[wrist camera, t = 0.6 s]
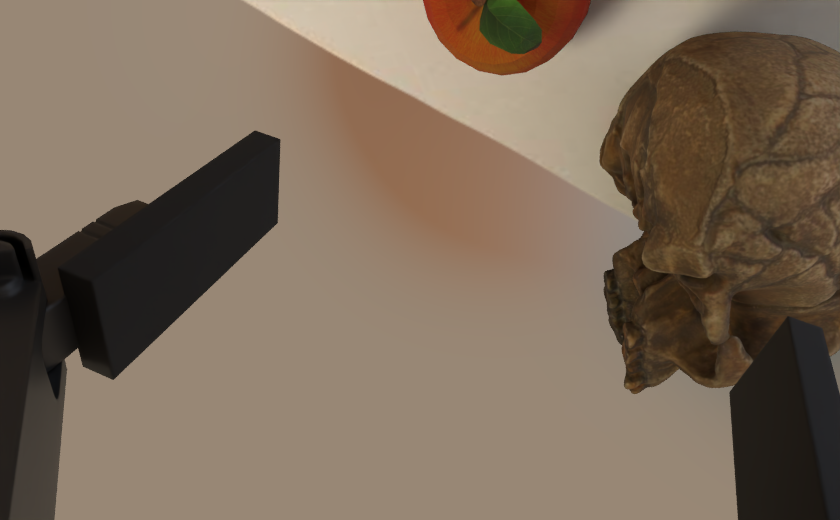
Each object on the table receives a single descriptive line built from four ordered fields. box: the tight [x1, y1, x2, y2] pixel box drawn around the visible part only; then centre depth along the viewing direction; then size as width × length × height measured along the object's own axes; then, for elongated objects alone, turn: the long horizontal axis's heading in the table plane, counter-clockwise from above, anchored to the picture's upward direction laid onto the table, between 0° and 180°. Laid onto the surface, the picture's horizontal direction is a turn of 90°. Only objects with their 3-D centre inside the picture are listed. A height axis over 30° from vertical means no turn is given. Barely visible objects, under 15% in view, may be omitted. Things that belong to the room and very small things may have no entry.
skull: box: [600, 32, 840, 394], centre depth 34 cm, size 20×18×16 cm
